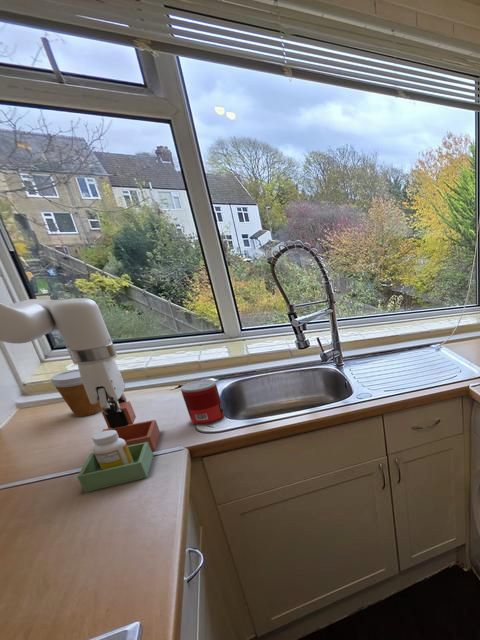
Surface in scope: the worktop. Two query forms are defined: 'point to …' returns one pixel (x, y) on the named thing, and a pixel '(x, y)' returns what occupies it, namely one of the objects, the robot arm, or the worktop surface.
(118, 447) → the supplement bottle
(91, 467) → the green bin
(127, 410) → the terracotta block
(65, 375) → the disposable coffee cup
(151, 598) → the worktop surface
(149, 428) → the terracotta bin
